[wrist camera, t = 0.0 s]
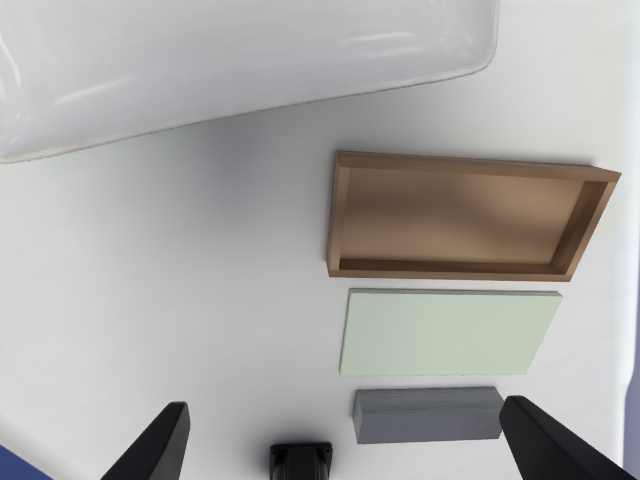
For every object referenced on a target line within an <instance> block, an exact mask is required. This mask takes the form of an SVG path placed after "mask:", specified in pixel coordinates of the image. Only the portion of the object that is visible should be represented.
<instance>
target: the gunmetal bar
mask: <svg viewBox="0 0 640 480" xmlns="http://www.w3.org/2000/svg"><path fill="white" fill-rule="evenodd" d="M504 402H505V401H504V400H503V399H502V397H501V396H500V394H499V393H498V391H497V390H496V388H495V387H463V388H420V389H377V390H357V393H356V400H355V406H354V413H353V422H354V428H355V433H356V439H357V444H379V443H404V442H430V441H456V440H482V439H498V438H499V436H500V434H501V432H502V427H501V425H500V422H499V412H500V410H501V408H502V406H503V404H504Z"/></svg>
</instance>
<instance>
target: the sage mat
mask: <svg viewBox="0 0 640 480" xmlns="http://www.w3.org/2000/svg"><path fill="white" fill-rule="evenodd" d="M562 298H563V296H562V295H561V294H559V293H558V292H512V291H452V290H392V289H350V293H349V301H348V308H347V316H346V324H345V331H344V339H343V346H342V354H341V362H340V369H339V373H340V376H427V375H513V374H526V373H527V371H528V369H529V367H530V365H531V363H532V360H533V358H534V356H535V354H536V352H537V350H538V348H539V346H540V344H541V342H542V340H543V338H544V335H545V333H546V331H547V329H548V327H549V325H550V323H551V321H552V319H553V317H554V315H555V313H556V310H557V308H558V306H559V304H560V302H561V300H562Z"/></svg>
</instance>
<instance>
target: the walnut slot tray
mask: <svg viewBox="0 0 640 480" xmlns="http://www.w3.org/2000/svg"><path fill="white" fill-rule="evenodd" d="M621 174H622V173H619V172H615V171H610V170H606V169H602V168H598V167H593V166H581V165H565V164H548V163H532V162H515V161H499V160H482V159H466V158H450V157H433V156H417V155H400V154H384V153H367V152H351V151H336V158H335V170H334V181H333V192H332V203H331V214H330V226H329V237H328V248H327V259H326V263H327V268H328V273H329V277H347V278H397V279H447V280H496V281H546V282H570V280H571V278H572V276H573V274H574V272H575V270H576V268H577V265H578V263H579V261H580V259H581V257H582V255H583V253H584V251H585V249H586V247H587V245H588V243H589V240H590V238H591V236H592V234H593V232H594V230H595V228H596V226H597V224H598V222H599V220H600V217H601V215H602V213H603V211H604V209H605V207H606V205H607V203H608V201H609V199H610V197H611V195H612V192H613V190H614V188H615V186H616V184H617V182H618V180H619V178H620V176H621Z"/></svg>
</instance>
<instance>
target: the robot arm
mask: <svg viewBox="0 0 640 480" xmlns="http://www.w3.org/2000/svg"><path fill="white" fill-rule="evenodd" d="M499 422H500V425H501V427H502V430H503V432H504V435H505V437H506V440H507V442H508V444H509V447H510V449H511V452H512V454H513V457H514V459H515V462H516V464H517V467H518V469H519V471H520V474H521V476H522V478H523V480H637V479H636V478H634V477H633V476H632V475H630V474H629V473H627V472H626V471H625V470H623V469H622V468H621V467H619V466H618V465H617V464H615V463H614V462H613V461H611V460H610V459H608V458H607V457H606V456H604V455H603V454H602V453H600V452H599V451H598V450H596V449H595V448H594V447H592V446H591V445H589V444H588V443H587V442H585V441H584V440H583V439H581V438H580V437H579V436H577V435H576V434H575V433H573V432H572V431H570V430H569V429H568V428H566V427H565V426H564V425H562V424H561V423H560V422H558V421H557V420H556V419H554V418H553V417H551V416H550V415H549V414H547V413H546V412H545V411H543V410H542V409H541V408H539V407H538V406H537V405H535V404H534V403H532V402H531V401H530V400H528V399H527V398H525V397H524V396H520V395H514V396H508V397H507V398H506V399H505V402H504V404H503V406H502V408H501V410H500V412H499ZM189 431H190V416H189V410H188V405H187V403H186V402H184V401H182V402H171V403H169V404H168V405H167V406H166V407H165V408H164V409H163V410H162V411H161V413H160V414H159V415H158V416H157V417H156V418H155V419H154V420H153V421H152V423H151V424H150V425H149V426H148V427H147V428H146V429H145V430H144V431H143V433H142V434H141V435H140V436H139V437H138V438H137V439H136V440H135V441H134V443H133V444H132V445H131V446H130V447H129V448H128V449H127V450H126V451H125V453H124V454H123V455H122V456H121V457H120V458H119V459H118V460H117V461H116V463H115V464H114V465H113V466H112V467H111V468H110V469H109V470H108V471H107V473H106V474H105V475H104V476H103V477H102V478H101V479H100V480H179V476H180V472H181V467H182V463H183V458H184V454H185V449H186V445H187V441H188V436H189ZM332 451H333V450H332V445H331V444H307V445H277V446H272V447H271V448H270V480H329V472H330V465H331V458H332Z"/></svg>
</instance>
